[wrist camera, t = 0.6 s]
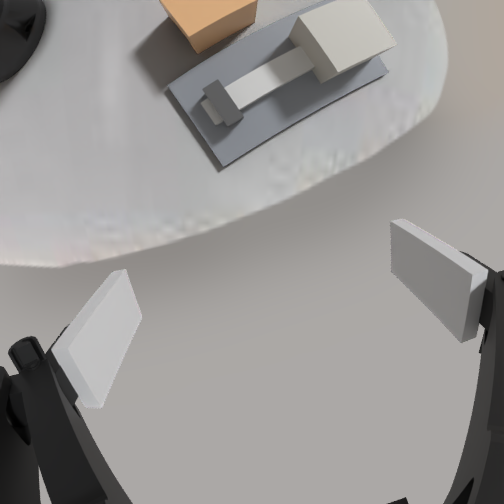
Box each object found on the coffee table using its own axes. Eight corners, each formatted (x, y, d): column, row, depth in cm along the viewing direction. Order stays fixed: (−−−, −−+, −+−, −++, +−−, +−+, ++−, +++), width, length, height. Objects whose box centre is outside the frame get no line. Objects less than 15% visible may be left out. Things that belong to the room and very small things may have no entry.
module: (168, 16, 30) (155, -6, 24) (224, -15, 29) (221, -41, 22) (197, 54, 32) (188, 36, 26) (254, 22, 31) (257, -1, 24)
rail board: (169, 86, 33) (151, 73, 26) (334, -2, 30) (353, -28, 22) (223, 166, 37) (219, 172, 29) (385, 73, 33) (416, 62, 26)
